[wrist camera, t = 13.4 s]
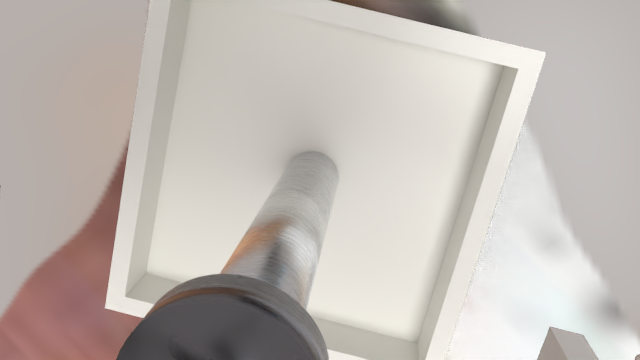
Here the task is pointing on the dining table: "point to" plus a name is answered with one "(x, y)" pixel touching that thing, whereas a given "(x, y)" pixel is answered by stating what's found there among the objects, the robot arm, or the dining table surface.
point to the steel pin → (252, 283)
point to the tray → (330, 139)
